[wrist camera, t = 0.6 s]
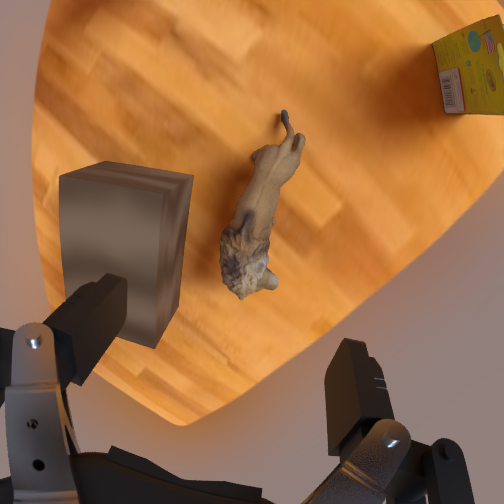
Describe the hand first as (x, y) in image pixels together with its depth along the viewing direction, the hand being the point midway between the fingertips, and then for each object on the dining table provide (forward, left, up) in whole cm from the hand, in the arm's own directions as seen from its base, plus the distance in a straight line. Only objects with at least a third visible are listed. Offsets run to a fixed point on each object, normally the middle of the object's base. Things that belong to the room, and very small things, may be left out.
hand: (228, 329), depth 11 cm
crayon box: (-17, +14, -20) cm, 30 cm away
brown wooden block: (+7, -12, -20) cm, 25 cm away
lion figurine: (0, 0, -20) cm, 20 cm away
